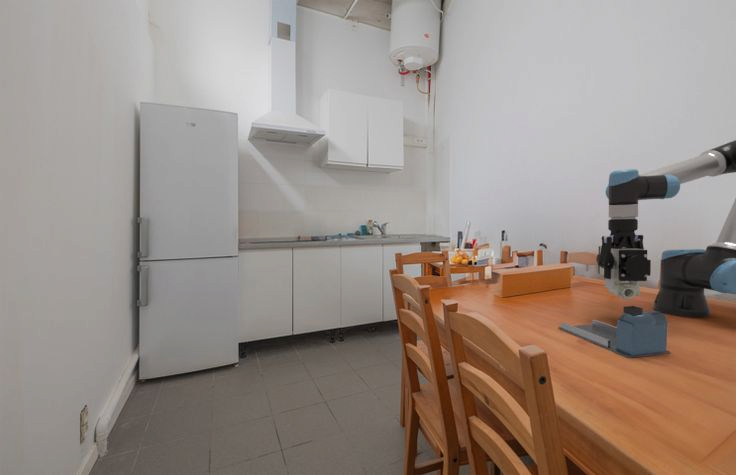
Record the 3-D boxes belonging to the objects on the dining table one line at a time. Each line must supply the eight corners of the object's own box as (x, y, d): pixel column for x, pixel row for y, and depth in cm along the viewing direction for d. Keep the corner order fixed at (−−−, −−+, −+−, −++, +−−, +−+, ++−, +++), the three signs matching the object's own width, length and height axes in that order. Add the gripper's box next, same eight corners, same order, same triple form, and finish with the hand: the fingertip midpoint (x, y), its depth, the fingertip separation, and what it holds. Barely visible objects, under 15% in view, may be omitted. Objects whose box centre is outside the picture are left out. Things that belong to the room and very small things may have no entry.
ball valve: (656, 304, 98) (657, 244, 97) (623, 303, 99) (624, 245, 98) (622, 290, 115) (622, 240, 114) (595, 290, 117) (595, 240, 116)
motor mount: (592, 325, 107) (593, 288, 106) (670, 353, 84) (672, 307, 84) (558, 328, 104) (558, 291, 104) (628, 358, 82) (630, 310, 81)
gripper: (638, 217, 112) (637, 283, 113) (584, 219, 107) (584, 287, 109) (662, 217, 104) (660, 287, 106) (605, 219, 100) (604, 292, 101)
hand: (621, 287), depth 107 cm, fingers closed on ball valve, 9 cm apart
